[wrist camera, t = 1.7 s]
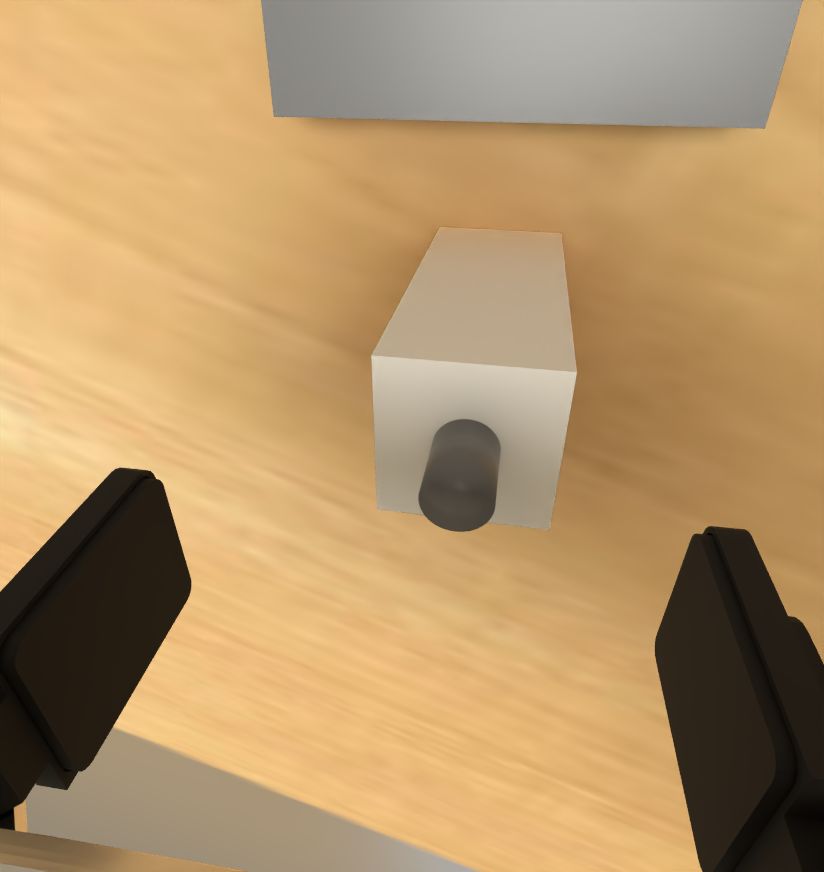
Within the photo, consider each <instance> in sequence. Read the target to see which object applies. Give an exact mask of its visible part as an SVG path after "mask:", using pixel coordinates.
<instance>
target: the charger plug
mask: <svg viewBox="0 0 824 872" xmlns="http://www.w3.org/2000/svg"><path fill="white" fill-rule="evenodd" d="M371 358H372V385H373V412H374V440H375V467H376V494H377V509H378V510H387V511H395V512H403V513H412V514H420V515H425V516H426V517H427V518H428V519H429V520H430V521H431V522H432V523H434V524H435V525H437V526H439V527H441V528H444V529H447V530H450V531H458V532H464V531H471V530H475V529H477V528H479V527H481V526H483V525H484V524H486V523H495V524H503V525H512V526H520V527H528V528H537V529H545V530H550V525H551V519H552V513H553V507H554V502H555V496H556V490H557V484H558V479H559V473H560V467H561V461H562V456H563V450H564V444H565V438H566V433H567V427H568V421H569V415H570V410H571V404H572V398H573V392H574V387H575V381H576V375H577V368H576V359H575V350H574V341H573V332H572V323H571V314H570V305H569V297H568V288H567V279H566V270H565V261H564V252H563V243H562V234H561V233H553V232H533V231H513V230H493V229H473V228H453V227H440V228H439V229H438V231H437V233H436V235H435V237H434V239H433V241H432V243H431V245H430V246H429V248H428V250H427V252H426V254H425V256H424V258H423V260H422V261H421V263H420V265H419V267H418V269H417V271H416V273H415V275H414V276H413V278H412V280H411V282H410V284H409V286H408V288H407V290H406V291H405V293H404V295H403V297H402V299H401V301H400V303H399V305H398V306H397V308H396V310H395V312H394V314H393V316H392V318H391V320H390V321H389V323H388V325H387V327H386V329H385V331H384V333H383V335H382V336H381V338H380V340H379V342H378V344H377V346H376V348H375V350H374V351H373V353H372V355H371Z"/></svg>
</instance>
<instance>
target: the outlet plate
mask: <svg viewBox="0 0 824 872" xmlns="http://www.w3.org/2000/svg"><path fill="white" fill-rule="evenodd" d="M802 1H803V0H261V3H262V12H263V21H264V30H265V40H266V49H267V58H268V67H269V76H270V85H271V95H272V104H273V113H274V117H310V118H351V119H392V120H433V121H474V122H516V123H557V124H598V125H639V126H680V127H721V128H763V129H765V127H766V123H767V120H768V117H769V113H770V110H771V106H772V103H773V100H774V96H775V93H776V89H777V86H778V83H779V79H780V76H781V72H782V69H783V66H784V62H785V59H786V55H787V52H788V49H789V45H790V42H791V38H792V35H793V32H794V28H795V25H796V21H797V18H798V15H799V11H800V8H801V4H802Z"/></svg>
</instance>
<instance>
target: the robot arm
mask: <svg viewBox="0 0 824 872" xmlns="http://www.w3.org/2000/svg"><path fill="white" fill-rule="evenodd" d="M190 591H191V578H190V574H189V571H188V567H187V564H186V560H185V557H184V554H183V550H182V547H181V543H180V540H179V537H178V533H177V530H176V526H175V523H174V520H173V516H172V513H171V509H170V506H169V502H168V499H167V496H166V492H165V489H164V485H163V483H162V482H161V481H160V480H158V479H156V478H155V476H154V474H153V473H152V472H151V471H148V470H139V469H129V468H117V469H115V470H114V471H112V472H111V473H110V474H109V475H108V476H107V478H106V479H105V480H104V481H103V482H102V483H101V484H100V485H99V486H98V487H97V488H96V489H95V490H94V492H93V493H92V494H91V495H90V496H89V497H88V498H87V499H86V500H85V501H84V502H83V503H82V504H81V506H80V507H79V508H78V509H77V510H76V511H75V512H74V513H73V514H72V515H71V516H70V517H69V518H68V520H67V521H66V522H65V523H64V524H63V525H62V526H61V527H60V528H59V529H58V530H57V531H56V532H55V534H54V535H53V536H52V537H51V538H50V539H49V540H48V541H47V542H46V543H45V544H44V545H43V546H42V547H41V549H40V550H39V551H38V552H37V553H36V554H35V555H34V556H33V557H32V558H31V559H30V560H29V561H28V563H27V564H26V565H25V566H24V567H23V568H22V569H21V570H20V571H19V572H18V573H17V574H16V575H15V577H14V578H13V579H12V580H11V581H10V582H9V583H8V584H7V585H6V586H5V587H4V588H3V589H2V591H1V592H0V872H248V871H243V870H237V869H232V868H226V867H221V866H215V865H210V864H204V863H199V862H193V861H187V860H182V859H176V858H171V857H165V856H160V855H154V854H148V853H143V852H137V851H131V850H126V849H120V848H114V847H108V846H103V845H98V844H92V843H86V842H81V841H75V840H69V839H63V838H57V837H52V836H46V835H39V834H33V833H28V831H27V817H26V804H25V799H26V797H27V796H28V794H29V793H30V791H31V789H32V788H33V786H34V785H35V783H36V785H40V786H47V787H52V788H58V789H64V790H67V789H68V788H69V786H70V784H71V783H72V781H73V779H74V778H75V776H76V774H77V773H78V771H83V770H85V769H86V768H87V767H88V766H89V765H90V764H91V763H92V761H93V760H94V758H95V756H96V754H97V753H98V751H99V749H100V748H101V746H102V744H103V743H104V741H105V739H106V737H107V736H108V734H109V732H110V731H111V729H112V727H113V726H114V724H115V722H116V720H117V719H118V717H119V715H120V714H121V712H122V710H123V709H124V707H125V705H126V703H127V702H128V700H129V698H130V697H131V695H132V693H133V692H134V690H135V688H136V686H137V685H138V683H139V681H140V680H141V678H142V676H143V675H144V673H145V671H146V669H147V668H148V666H149V664H150V663H151V661H152V659H153V658H154V656H155V654H156V652H157V651H158V649H159V647H160V646H161V644H162V642H163V640H164V639H165V637H166V635H167V634H168V632H169V630H170V629H171V627H172V625H173V623H174V622H175V620H176V618H177V617H178V615H179V613H180V612H181V610H182V608H183V606H184V605H185V603H186V601H187V599H188V597H189V595H190ZM655 657H656V662H657V667H658V672H659V677H660V681H661V686H662V691H663V695H664V700H665V705H666V709H667V714H668V719H669V723H670V728H671V733H672V737H673V742H674V747H675V752H676V756H677V761H678V766H679V770H680V775H681V780H682V784H683V789H684V794H685V798H686V803H687V808H688V812H689V817H690V822H691V827H692V831H693V836H694V841H695V845H696V850H697V855H698V859H699V863H700V867H701V869H702V871H703V872H824V664H823V662H822V660H821V658H820V656H819V654H818V651H817V649H816V647H815V645H814V643H813V641H812V639H811V637H810V635H809V633H808V631H807V629H806V628H805V626H804V625H803V623H802V622H801V621H800V620H798V619H797V618H795V617H790V616H788V615H787V613H786V611H785V609H784V606H783V604H782V602H781V600H780V598H779V595H778V593H777V591H776V589H775V587H774V584H773V582H772V580H771V578H770V576H769V573H768V571H767V569H766V567H765V565H764V562H763V560H762V558H761V556H760V554H759V551H758V549H757V547H756V545H755V543H754V540H753V538H752V536H751V535H750V533H749V532H748V531H747V530H744V529H734V528H724V527H714V526H709V527H707V528H706V529H705V531H704V533H703V534H694V535H693V536H692V538H691V541H690V544H689V546H688V549H687V552H686V555H685V558H684V560H683V563H682V566H681V569H680V572H679V574H678V577H677V580H676V583H675V586H674V588H673V591H672V594H671V597H670V599H669V602H668V605H667V608H666V611H665V613H664V616H663V619H662V622H661V625H660V627H659V630H658V633H657V636H656V641H655Z"/></svg>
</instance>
